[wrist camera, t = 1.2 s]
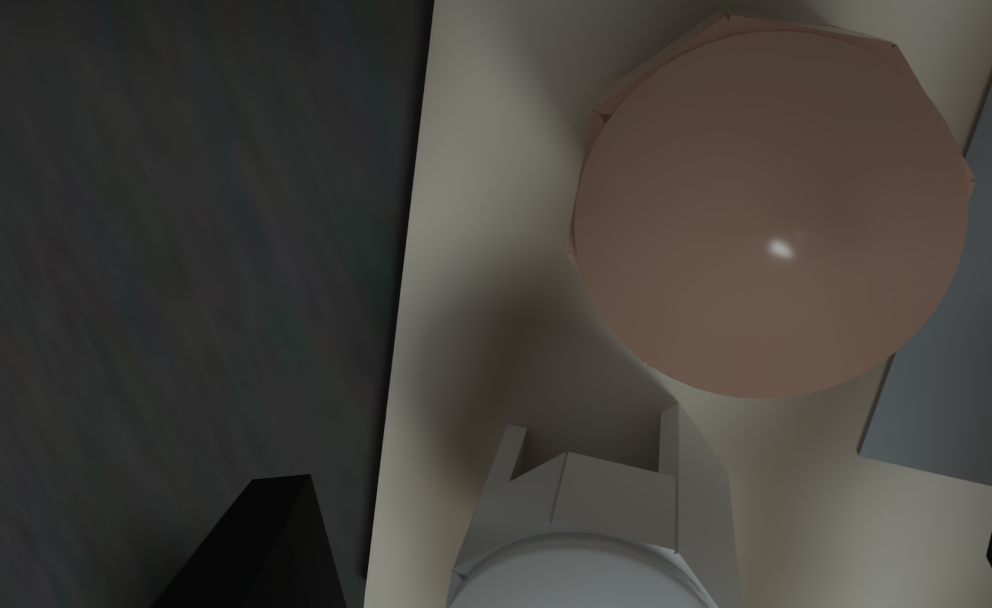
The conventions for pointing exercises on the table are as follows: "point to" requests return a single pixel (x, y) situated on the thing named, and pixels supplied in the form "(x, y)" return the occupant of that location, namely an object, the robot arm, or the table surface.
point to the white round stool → (602, 530)
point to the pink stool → (768, 206)
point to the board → (632, 384)
